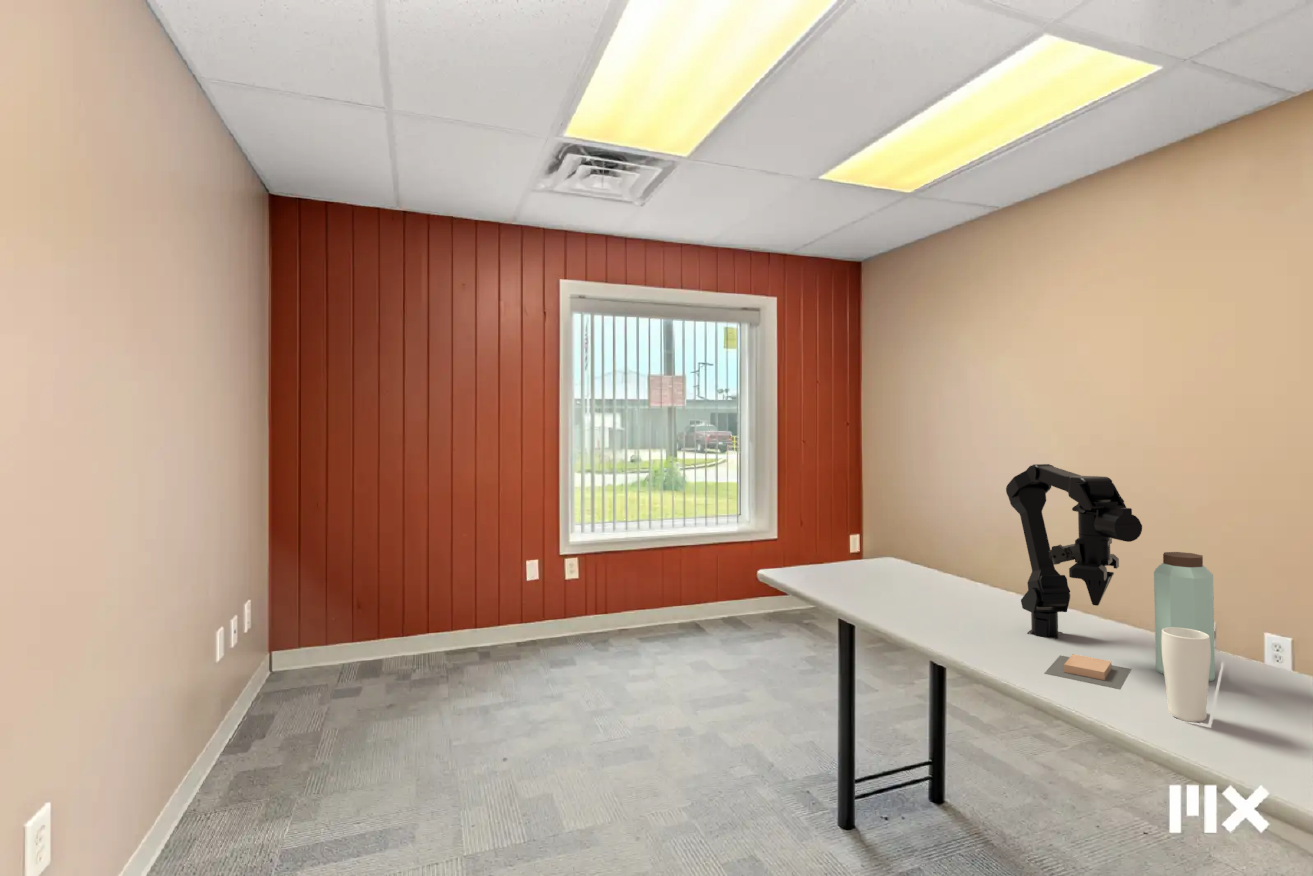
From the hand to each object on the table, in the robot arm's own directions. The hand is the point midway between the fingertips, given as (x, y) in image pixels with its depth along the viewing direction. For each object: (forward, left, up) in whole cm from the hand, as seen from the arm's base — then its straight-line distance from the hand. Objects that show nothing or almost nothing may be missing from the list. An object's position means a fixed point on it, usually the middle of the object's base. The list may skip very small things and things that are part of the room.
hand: (1095, 605), depth 142 cm
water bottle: (-1, +15, -13) cm, 20 cm away
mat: (+9, 0, -12) cm, 16 cm away
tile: (+5, 0, -11) cm, 12 cm away
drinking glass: (+22, +17, -13) cm, 31 cm away
